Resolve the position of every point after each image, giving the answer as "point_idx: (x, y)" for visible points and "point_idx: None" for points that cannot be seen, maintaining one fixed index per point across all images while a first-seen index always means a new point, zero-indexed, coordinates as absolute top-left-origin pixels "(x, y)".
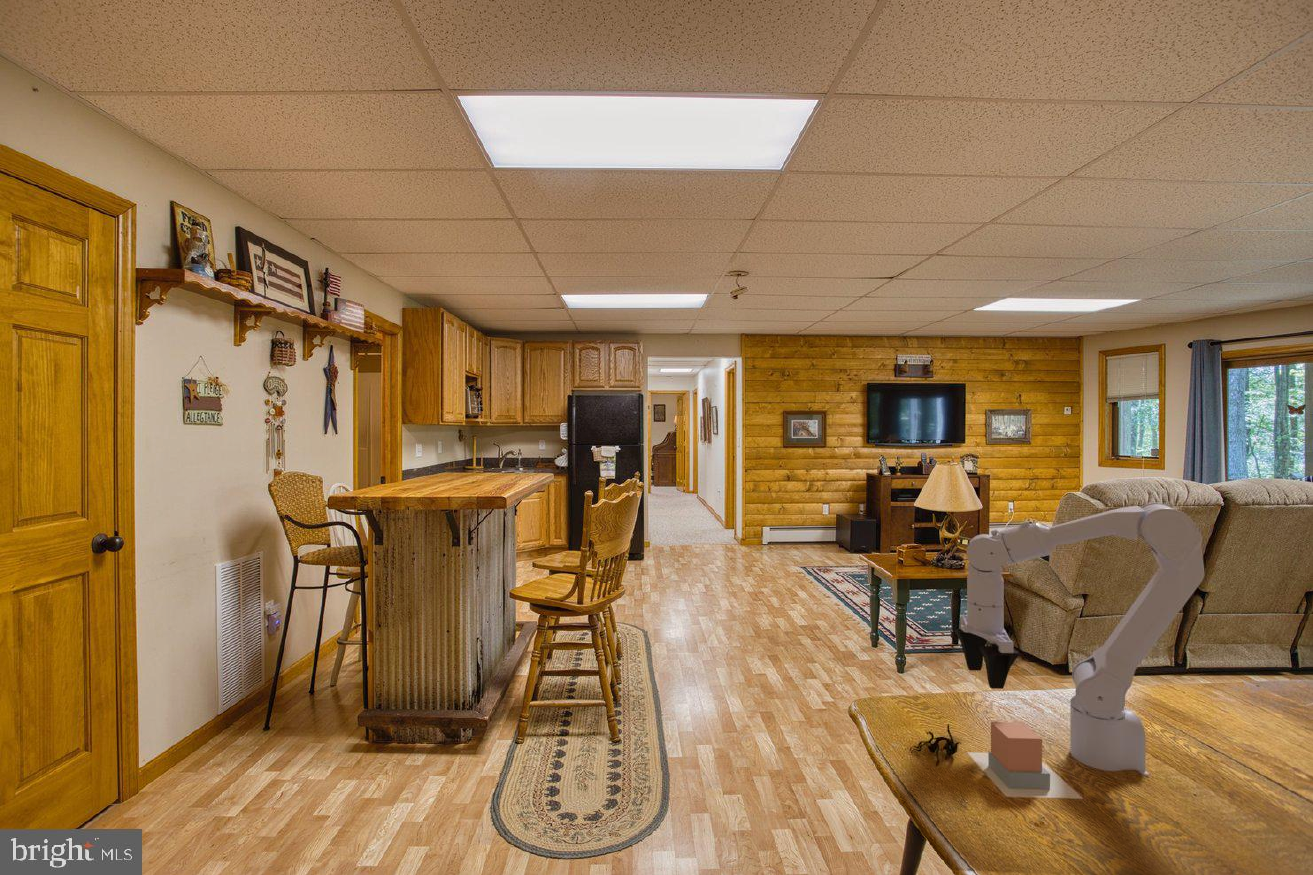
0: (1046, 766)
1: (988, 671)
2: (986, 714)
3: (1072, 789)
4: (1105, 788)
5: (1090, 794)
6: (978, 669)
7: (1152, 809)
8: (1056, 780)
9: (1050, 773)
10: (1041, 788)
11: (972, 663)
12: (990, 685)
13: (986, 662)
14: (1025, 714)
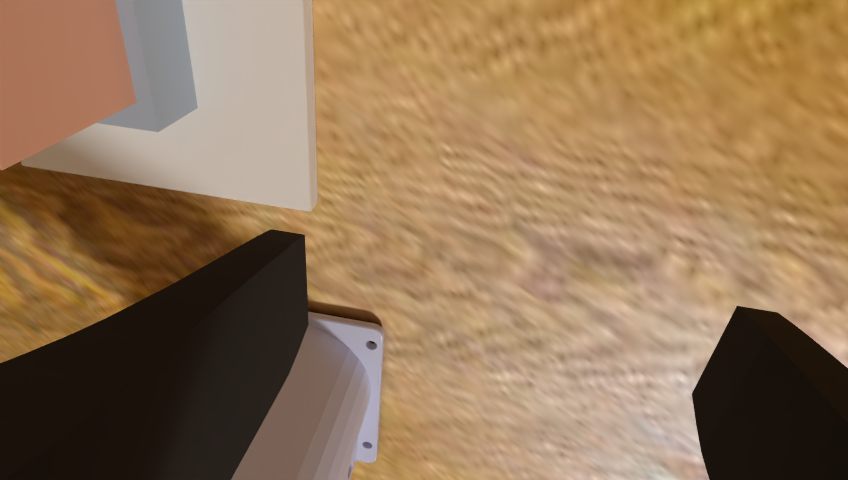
0: (216, 191)
1: (150, 311)
2: (726, 266)
3: (71, 170)
4: (156, 287)
5: (107, 221)
6: (703, 385)
7: (78, 321)
8: (119, 157)
9: (164, 169)
10: None
11: (755, 391)
12: (259, 236)
13: (56, 394)
14: (667, 406)
